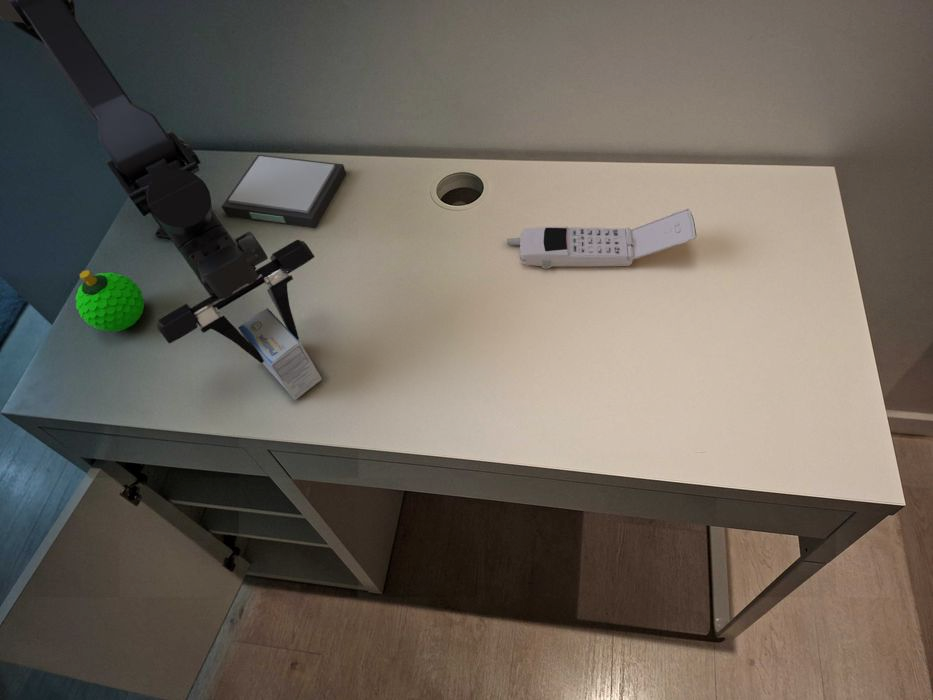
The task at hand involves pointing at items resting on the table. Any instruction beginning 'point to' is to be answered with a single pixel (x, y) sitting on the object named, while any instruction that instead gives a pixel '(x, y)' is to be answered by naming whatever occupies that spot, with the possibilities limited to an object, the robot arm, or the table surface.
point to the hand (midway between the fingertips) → (280, 351)
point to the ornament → (109, 301)
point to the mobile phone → (602, 242)
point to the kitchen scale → (285, 190)
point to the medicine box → (281, 353)
